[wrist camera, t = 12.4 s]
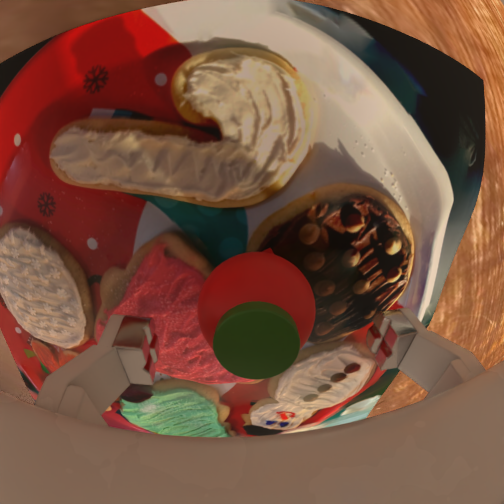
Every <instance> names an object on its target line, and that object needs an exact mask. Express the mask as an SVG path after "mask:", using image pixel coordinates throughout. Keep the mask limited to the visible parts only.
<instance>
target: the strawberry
mask: <svg viewBox="0 0 504 504" xmlns="http://www.w3.org/2000/svg"><path fill="white" fill-rule="evenodd" d="M315 314H316V307H315V299H314V295H313V292H312V289H311V286H310V284H309V282H308V281H307V279H306V278H305V276H304V275H303V274H302V272H301V271H300V270H299V269H298V268H297V267H296V266H295V265H293V264H292V263H291V262H289V261H287V260H286V259H284V258H282V257H280V256H277V255H274V253H273V251H272V249H271V248H268V249H266V250H264V251H262V252H248V253H243V254H239V255H236V256H234V257H231V258H229V259H228V260H226V261H224V262H222V263H221V264H220V265H219V266H217V267H216V268H215V269H214V270H213V271H212V272H211V274H210V275H209V276H208V278H207V279H206V281H205V283H204V284H203V286H202V289H201V292H200V295H199V299H198V308H197V315H198V322H199V326H200V329H201V332H202V334H203V337H204V338H205V340H206V342H207V343H208V345H209V346H210V347H211V348H212V350H213V351H214V354H215V356H216V358H217V360H218V361H219V363H220V364H221V365H222V366H223V367H224V368H225V369H226V370H227V371H229V372H230V373H232V374H234V375H236V376H238V377H242V378H245V379H252V380H261V379H267V378H271V377H274V376H277V375H279V374H281V373H283V372H284V371H286V370H287V369H288V368H289V367H290V366H291V365H292V364H293V363H294V362H295V360H296V358H297V356H298V354H299V350H300V349H301V348H302V347H303V346H304V344H305V343H306V341H307V340H308V338H309V336H310V334H311V332H312V329H313V326H314V321H315Z"/></svg>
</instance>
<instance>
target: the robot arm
mask: <svg viewBox="0 0 504 504" xmlns="http://www.w3.org/2000/svg"><path fill="white" fill-rule="evenodd" d="M372 321H373V323H374V324H373V325H372V326H371V327H370V328H369V329H368V332H367V335H366V342H367V346H368V348H369V350H370V351H371V352H372V353H374V354H375V358H374V359H375V361H376V363H377V365H378V366H379V368H380V370H381V371H382V370H387V369H392V368H397V367H398V369H399V370H401V371H402V372H403V373H404V374H406V375H407V376H408V377H410V378H411V379H412V380H413V381H415V382H416V383H417V384H419V385H420V386H421V387H422V388H424V389H425V390H426V391H427V392H429V393H428V394H427V396H426V397H425V398H424V400H422V401H419V402H417V403H414V404H411V405H408V406H405V407H402V408H399V409H396V410H393V411H390V412H387V413H384V414H380V415H377V416H373V417H369V418H366V419H362V420H358V421H354V422H349V423H345V424H340V425H336V426H331V427H325V428H320V429H314V430H308V431H301V432H294V433H286V434H276V435H265V436H250V437H188V436H173V435H162V434H153V433H145V432H138V431H131V430H125V429H120V428H114V427H109V426H108V424H107V423H106V422H105V420H104V419H103V417H102V416H101V415H102V414H103V413H104V412H105V411H106V410H107V409H108V407H109V406H110V405H111V404H112V403H113V402H114V401H115V400H116V399H117V398H118V397H119V396H120V395H121V394H122V393H123V392H124V391H125V390H126V388H127V387H128V386H129V385H130V383H133V384H144V385H153V383H154V378H155V373H156V369H155V366H154V364H155V363H156V362H157V361H158V357H159V340H158V336H157V335H156V334H155V333H154V331H155V327H156V326H155V321H154V319H153V318H152V317H142V316H131V315H118V314H113V315H111V316H110V318H109V320H108V323H107V325H106V327H105V329H104V331H103V333H102V335H101V338H100V340H99V342H98V344H97V345H92V346H91V347H89V348H88V349H87V350H85V351H84V352H82V353H81V354H79V355H78V356H76V357H75V358H73V359H72V360H70V361H69V362H68V363H66V364H65V365H63V366H62V367H60V368H59V369H57V370H56V371H54V372H53V373H52V374H50V375H49V376H47V377H46V379H45V381H44V383H43V385H42V387H41V390H40V392H39V394H38V396H37V399H36V401H35V403H34V405H33V404H30V403H28V402H25V401H23V400H20V399H18V398H15V397H13V396H11V395H9V394H6V393H4V392H2V391H0V504H504V360H503V361H502V362H500V363H498V364H497V365H495V366H493V367H491V368H490V369H488V370H485V369H484V367H483V366H482V365H481V363H480V362H479V361H478V359H477V358H476V357H475V356H474V354H473V353H472V352H470V351H469V350H467V349H465V348H463V347H461V346H459V345H457V344H455V343H453V342H451V341H449V340H448V339H446V338H444V337H442V336H440V335H438V334H436V333H434V332H432V331H428V330H427V329H426V328H425V327H424V325H423V324H422V323H421V322H420V320H419V319H418V318H417V317H416V316H415V314H414V313H413V312H412V311H411V310H410V309H409V308H407V307H406V308H399V309H394V310H386V311H377V312H376V313H375V314H374V316H373V319H372Z"/></svg>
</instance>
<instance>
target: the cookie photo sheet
mask: <svg viewBox="0 0 504 504" xmlns="http://www.w3.org/2000/svg"><path fill="white" fill-rule="evenodd" d="M484 159H485V99H484V84H483V80H482V79H481V78H480V77H479V76H477V75H476V74H475V73H474V72H472V71H471V70H469V69H468V68H467V67H465V66H464V65H462V64H461V63H459V62H458V61H456V60H455V59H453V58H451V57H450V56H448V55H446V54H444V53H443V52H441V51H439V50H437V49H435V48H434V47H432V46H430V45H428V44H426V43H424V42H422V41H420V40H417V39H415V38H413V37H411V36H409V35H406V34H404V33H402V32H400V31H397V30H395V29H392V28H390V27H387V26H385V25H382V24H380V23H377V22H374V21H371V20H369V19H366V18H363V17H360V16H357V15H354V14H350V13H347V12H344V11H340V10H337V9H333V8H329V7H325V6H321V5H316V4H311V3H306V2H301V1H295V0H188V1H181V2H175V3H169V4H163V5H158V6H153V7H148V8H144V9H139V10H135V11H131V12H127V13H123V14H119V15H115V16H112V17H108V18H105V19H101V20H98V21H95V22H92V23H89V24H86V25H83V26H80V27H77V28H74V29H71V30H69V31H66V32H64V33H61V34H59V35H56V36H54V37H51V38H49V39H47V40H45V41H42V42H40V43H38V44H36V45H34V46H32V47H30V48H28V49H26V50H24V51H22V52H20V53H18V54H16V55H15V56H13V57H11V58H9V59H7V60H6V61H4V62H2V63H1V64H0V328H1V331H2V333H3V335H4V337H5V340H6V342H7V344H8V346H9V349H10V351H11V353H12V355H13V358H14V360H15V362H16V364H17V367H18V369H19V371H20V374H21V376H22V378H23V380H24V382H25V384H26V386H27V388H28V390H29V392H30V394H31V396H32V397H33V399H34V400H35V401H36V399H37V396H38V394H39V392H40V390H41V387H42V385H43V383H44V381H45V379H46V377H47V376H49V375H50V374H52V373H53V372H54V371H56V370H57V369H59V368H60V367H62V366H63V365H65V364H66V363H68V362H69V361H70V360H72V359H73V358H75V357H76V356H78V355H79V354H81V353H82V352H84V351H85V350H87V349H88V348H89V347H91V346H92V345H97V344H98V342H99V340H100V338H101V335H102V333H103V331H104V329H105V327H106V325H107V323H108V320H109V318H110V316H111V315H113V314H118V315H131V316H142V317H152V318H153V319H154V321H155V326H156V327H155V331H154V333H155V334H156V335H157V336H158V340H159V357H158V361H157V362H156V363H155V364H154V366H155V369H156V373H155V378H154V383H153V385H144V384H133V383H130V385H129V386H128V387H127V388H126V390H125V391H124V392H123V393H122V394H121V395H120V396H119V397H118V398H117V399H116V400H115V401H114V402H113V403H112V404H111V405H110V406H109V407H108V409H107V410H106V411H105V412H104V413H103V414H102V415H101V416H102V417H103V419H104V420H105V422H106V423H107V424H108V426H109V427H114V428H120V429H125V430H131V431H138V432H145V433H153V434H162V435H173V436H188V437H250V436H265V435H276V434H286V433H294V432H301V431H308V430H314V429H320V428H325V427H331V426H336V425H340V424H345V423H349V422H354V421H358V420H362V419H366V417H367V416H368V414H369V413H370V411H371V410H372V408H373V407H374V406H375V404H376V403H377V401H378V400H379V398H380V397H381V396H382V394H383V393H384V392H385V390H386V389H387V388H388V386H389V385H390V383H391V382H392V381H393V379H394V378H395V377H396V375H397V374H398V372H399V371H400V370H399V369H398V367H397V368H392V369H387V370H382V371H381V370H380V368H379V366H378V365H377V363H376V361H375V359H374V358H375V354H374V353H372V352H371V351H370V350H369V348H368V346H367V342H366V335H367V332H368V329H369V328H370V327H371V326H372V325H373V324H374V323H373V321H372V319H373V316H374V314H375V313H376V312H377V311H386V310H394V309H399V308H406V307H407V308H409V309H410V310H411V311H412V312H413V313H414V314H415V316H416V317H417V318H418V319H419V320H420V322H421V323H422V324H423V325H424V327H425V328H427V327H428V325H429V323H430V321H431V319H432V317H433V314H434V312H435V309H436V306H437V303H438V300H439V297H440V294H441V291H442V288H443V286H444V283H445V280H446V277H447V274H448V272H449V269H450V266H451V263H452V261H453V258H454V256H455V253H456V251H457V248H458V246H459V244H460V241H461V239H462V237H463V234H464V232H465V230H466V227H467V225H468V223H469V220H470V218H471V215H472V213H473V210H474V207H475V204H476V201H477V198H478V194H479V191H480V186H481V181H482V176H483V168H484ZM268 248H271V249H272V251H273V253H274V255H277V256H280V257H282V258H284V259H286V260H287V261H289V262H291V263H292V264H293V265H295V266H296V267H297V268H298V269H299V270H300V271H301V272H302V274H303V275H304V276H305V278H306V279H307V281H308V282H309V284H310V286H311V289H312V292H313V295H314V299H315V307H316V314H315V321H314V326H313V329H312V332H311V334H310V336H309V338H308V340H307V341H306V343H305V344H304V346H303V347H302V348H301V349H300V350H299V354H298V356H297V358H296V360H295V362H294V363H293V364H292V365H291V366H290V367H289V368H288V369H287V370H286V371H284V372H283V373H281V374H279V375H277V376H274V377H271V378H267V379H261V380H252V379H245V378H242V377H238V376H236V375H234V374H232V373H230V372H229V371H227V370H226V369H225V368H224V367H223V366H222V365H221V364H220V363H219V361H218V360H217V358H216V356H215V354H214V351H213V350H212V348H211V347H210V346H209V345H208V343H207V342H206V340H205V338H204V337H203V334H202V332H201V329H200V326H199V322H198V315H197V308H198V299H199V295H200V292H201V289H202V286H203V284H204V283H205V281H206V279H207V278H208V276H209V275H210V274H211V272H212V271H213V270H214V269H215V268H216V267H217V266H219V265H220V264H221V263H222V262H224V261H226V260H228V259H229V258H231V257H234V256H236V255H239V254H243V253H248V252H262V251H264V250H266V249H268Z"/></svg>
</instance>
